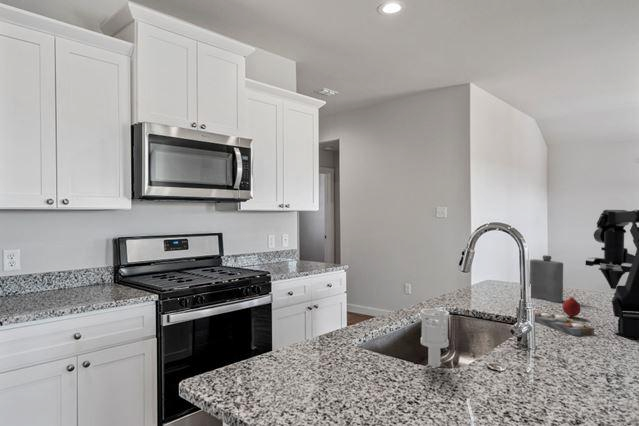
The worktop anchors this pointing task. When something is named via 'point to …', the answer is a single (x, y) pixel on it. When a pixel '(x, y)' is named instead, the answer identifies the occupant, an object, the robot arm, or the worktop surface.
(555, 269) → the flask
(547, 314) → the far button
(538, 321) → the button board
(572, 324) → the near button
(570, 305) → the onion
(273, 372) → the worktop surface
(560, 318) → the middle button
